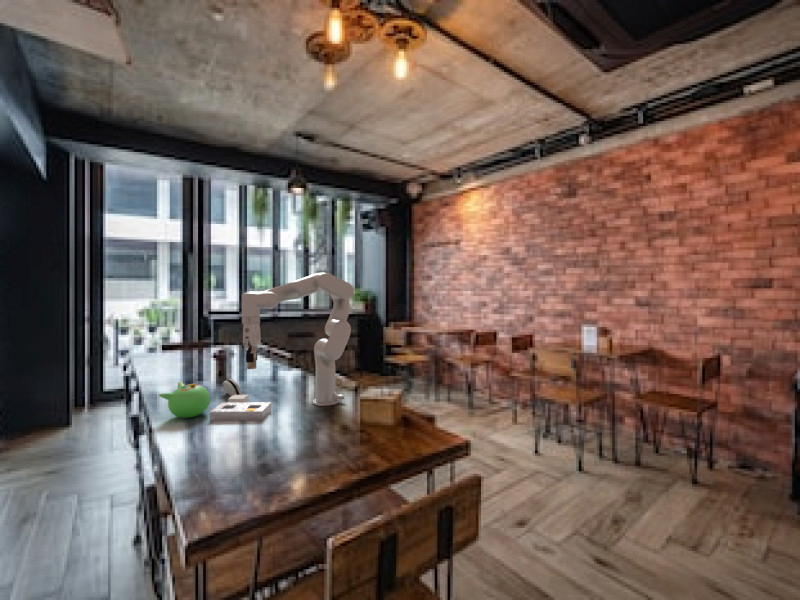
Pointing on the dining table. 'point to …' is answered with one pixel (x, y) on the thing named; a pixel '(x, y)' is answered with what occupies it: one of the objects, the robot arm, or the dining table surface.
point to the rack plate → (241, 411)
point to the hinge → (232, 387)
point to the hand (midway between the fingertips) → (251, 360)
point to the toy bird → (187, 400)
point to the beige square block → (238, 398)
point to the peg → (253, 364)
